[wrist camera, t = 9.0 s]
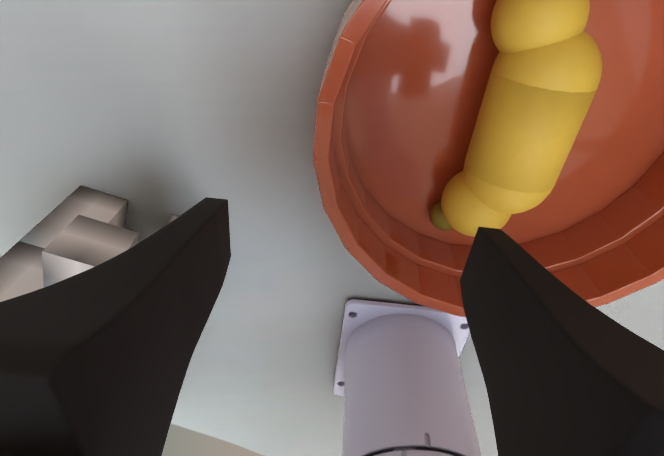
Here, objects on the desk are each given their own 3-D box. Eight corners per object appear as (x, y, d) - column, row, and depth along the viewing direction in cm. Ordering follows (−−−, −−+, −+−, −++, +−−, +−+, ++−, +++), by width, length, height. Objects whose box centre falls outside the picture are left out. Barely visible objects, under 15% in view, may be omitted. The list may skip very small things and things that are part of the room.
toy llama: (226, 193, 23) (-124, 880, 6) (178, 380, 32) (-10, 844, 16) (81, 145, 21) (-826, 834, 5) (76, 353, 31) (-242, 826, 15)
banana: (509, 227, 22) (533, 274, 19) (425, 218, 22) (435, 264, 19) (618, -47, 15) (683, -42, 12) (496, -60, 15) (531, -59, 12)
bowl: (606, 269, 24) (657, 337, 20) (312, 238, 24) (302, 301, 20) (829, -105, 15) (1013, -120, 11) (344, -159, 15) (337, -196, 10)
